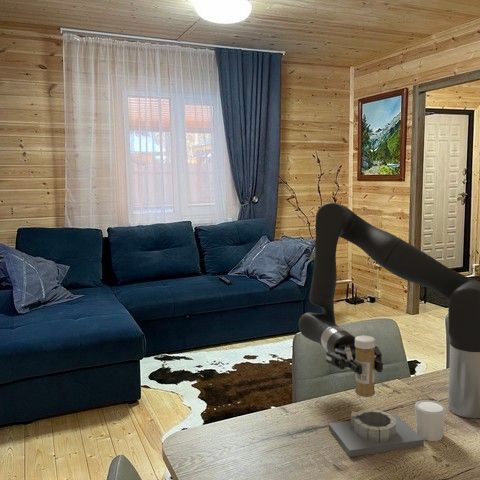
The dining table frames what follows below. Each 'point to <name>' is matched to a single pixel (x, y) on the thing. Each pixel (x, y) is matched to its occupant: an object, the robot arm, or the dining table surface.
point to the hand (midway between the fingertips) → (370, 369)
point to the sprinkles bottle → (365, 366)
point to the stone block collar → (372, 432)
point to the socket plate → (362, 447)
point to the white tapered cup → (430, 419)
